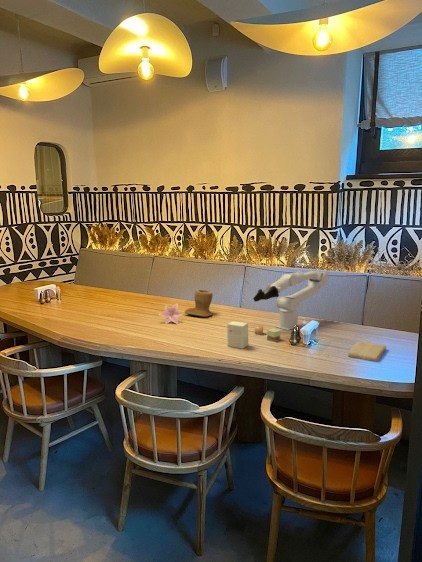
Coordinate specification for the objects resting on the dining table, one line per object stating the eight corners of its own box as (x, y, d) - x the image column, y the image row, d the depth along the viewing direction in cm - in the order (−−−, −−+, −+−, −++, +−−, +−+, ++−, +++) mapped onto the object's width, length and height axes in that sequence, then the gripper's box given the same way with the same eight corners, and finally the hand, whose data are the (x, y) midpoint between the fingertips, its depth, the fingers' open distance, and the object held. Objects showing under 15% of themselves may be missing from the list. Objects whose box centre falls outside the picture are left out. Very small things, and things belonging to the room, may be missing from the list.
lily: (156, 324, 227) (156, 311, 221) (167, 311, 235) (167, 299, 229) (175, 332, 223) (176, 320, 217) (185, 319, 232) (186, 307, 226)
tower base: (271, 338, 198) (271, 333, 198) (280, 340, 195) (280, 335, 195) (267, 340, 195) (267, 335, 194) (275, 342, 192) (275, 337, 191)
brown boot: (216, 314, 241) (216, 289, 238) (205, 319, 231) (204, 293, 228) (196, 311, 249) (195, 286, 246) (183, 315, 239) (183, 290, 237)
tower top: (273, 333, 198) (274, 328, 197) (280, 335, 194) (280, 330, 194) (267, 335, 195) (267, 330, 195) (274, 337, 192) (274, 332, 191)
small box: (248, 345, 188) (248, 323, 186) (243, 349, 183) (243, 326, 181) (233, 342, 192) (232, 320, 190) (227, 346, 187) (227, 323, 185)
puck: (258, 332, 207) (258, 325, 206) (264, 333, 204) (264, 326, 203) (253, 333, 204) (253, 326, 204) (259, 335, 202) (259, 328, 201)
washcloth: (386, 350, 180) (387, 343, 180) (377, 363, 166) (378, 356, 165) (358, 345, 187) (358, 338, 186) (347, 358, 172) (348, 351, 172)
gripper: (265, 282, 211) (246, 293, 203) (284, 277, 199) (265, 289, 191) (270, 294, 211) (252, 306, 204) (290, 290, 199) (271, 302, 192)
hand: (259, 298), depth 198 cm, fingers open, 7 cm apart
